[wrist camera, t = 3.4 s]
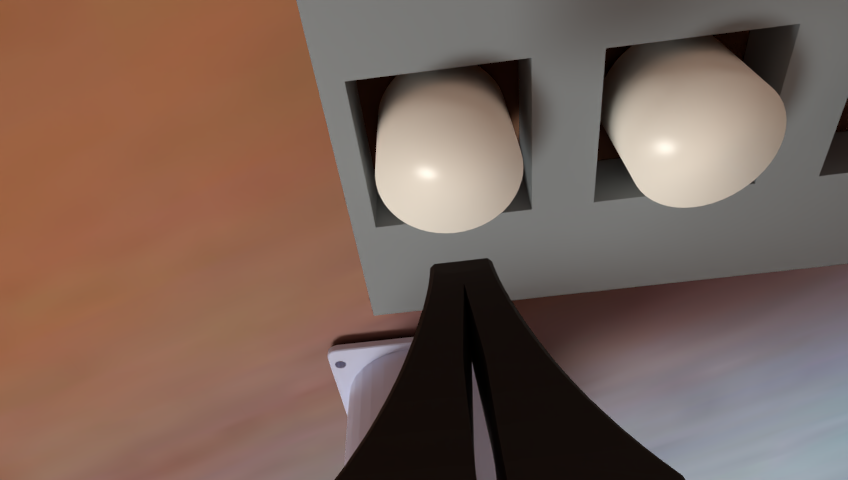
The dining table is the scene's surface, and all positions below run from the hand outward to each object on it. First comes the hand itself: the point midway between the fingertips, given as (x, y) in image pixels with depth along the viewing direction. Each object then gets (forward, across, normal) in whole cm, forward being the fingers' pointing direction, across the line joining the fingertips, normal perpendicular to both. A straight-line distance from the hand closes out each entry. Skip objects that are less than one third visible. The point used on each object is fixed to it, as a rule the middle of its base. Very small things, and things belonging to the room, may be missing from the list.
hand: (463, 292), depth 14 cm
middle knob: (+8, -8, 0) cm, 11 cm away
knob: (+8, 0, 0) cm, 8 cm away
